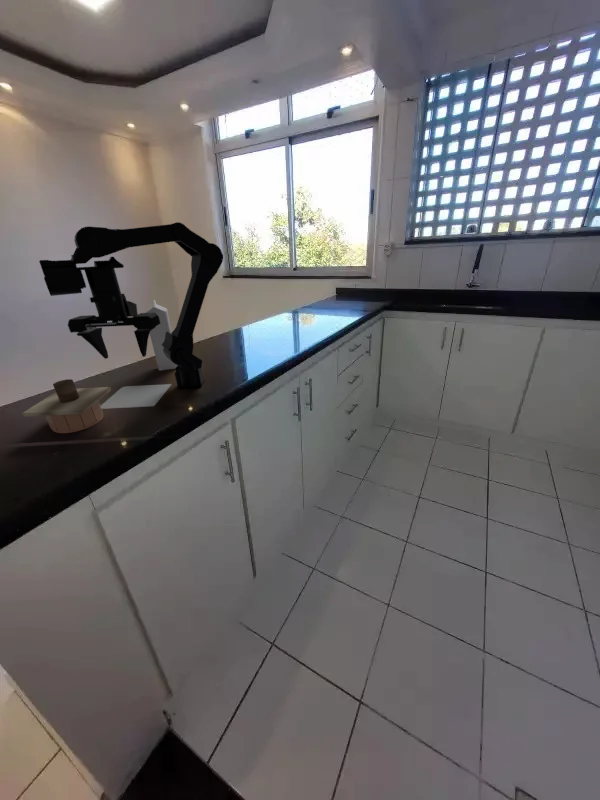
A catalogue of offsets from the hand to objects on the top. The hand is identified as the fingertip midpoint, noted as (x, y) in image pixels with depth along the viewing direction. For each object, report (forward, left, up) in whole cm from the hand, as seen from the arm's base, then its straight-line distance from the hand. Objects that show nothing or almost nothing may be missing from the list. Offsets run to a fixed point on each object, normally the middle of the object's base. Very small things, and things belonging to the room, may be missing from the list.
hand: (125, 357), depth 76 cm
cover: (+9, +11, -6) cm, 16 cm away
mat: (+1, -2, -12) cm, 12 cm away
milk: (0, -25, -12) cm, 28 cm away
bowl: (+9, +11, -12) cm, 19 cm away
